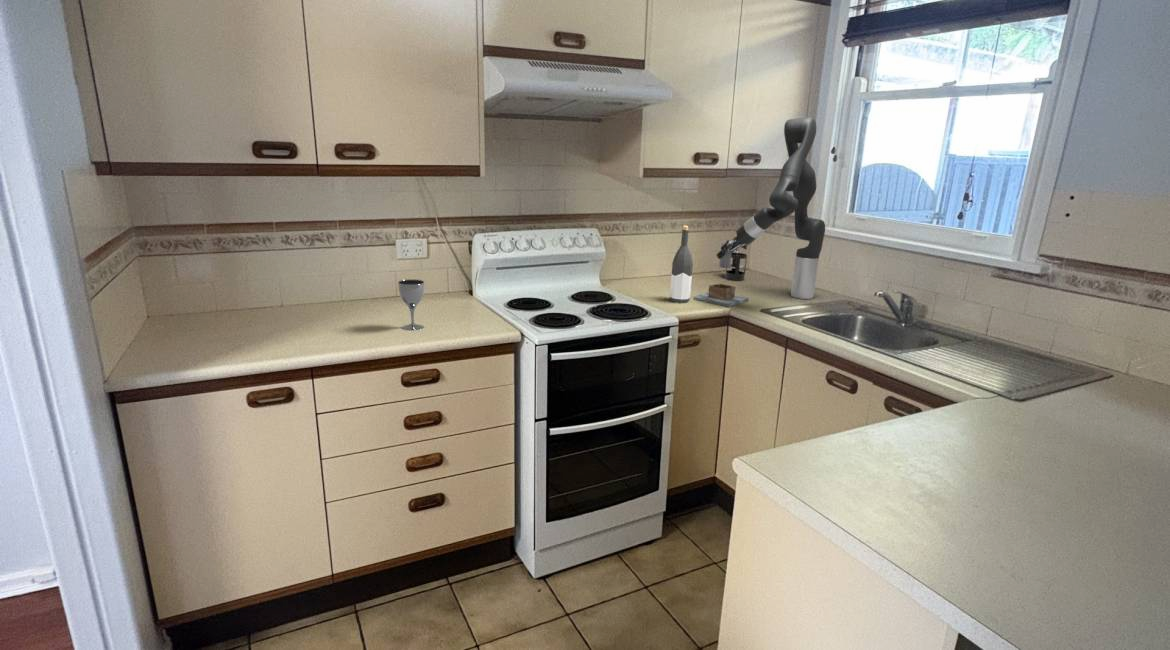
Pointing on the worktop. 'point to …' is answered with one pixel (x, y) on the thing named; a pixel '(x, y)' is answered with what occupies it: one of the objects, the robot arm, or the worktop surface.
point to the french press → (736, 267)
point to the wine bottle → (681, 271)
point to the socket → (721, 295)
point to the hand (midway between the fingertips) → (721, 256)
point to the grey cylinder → (725, 258)
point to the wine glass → (411, 298)
